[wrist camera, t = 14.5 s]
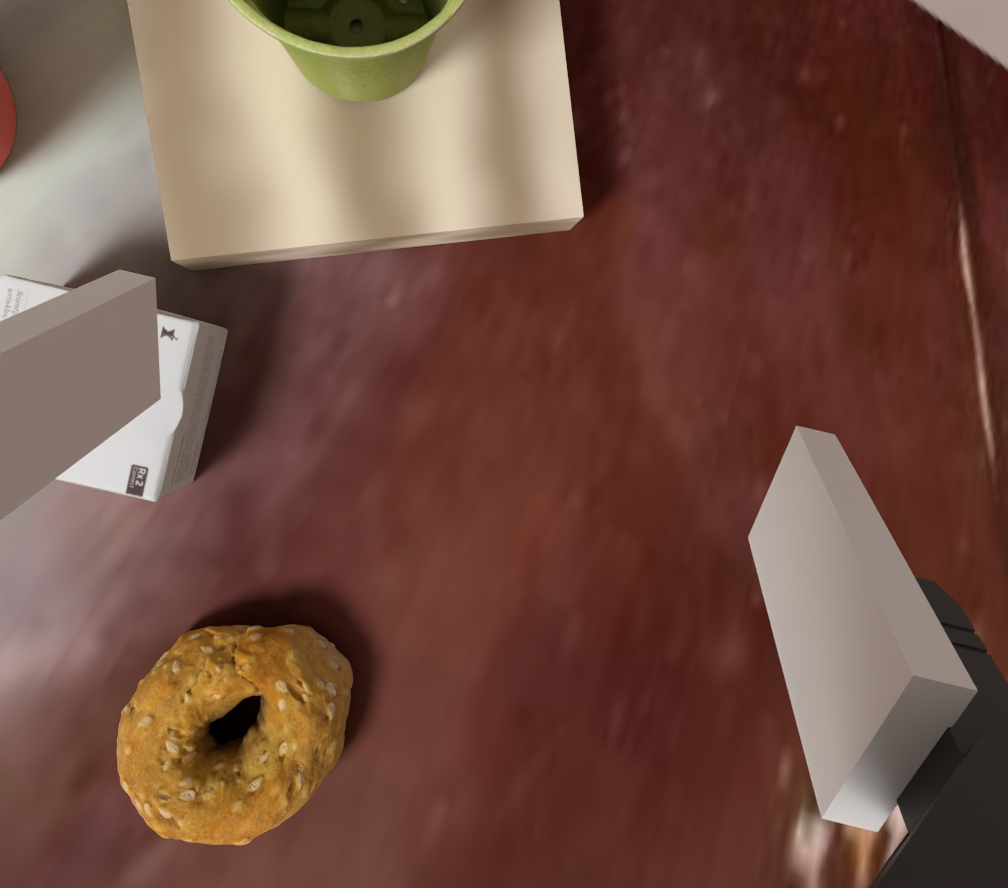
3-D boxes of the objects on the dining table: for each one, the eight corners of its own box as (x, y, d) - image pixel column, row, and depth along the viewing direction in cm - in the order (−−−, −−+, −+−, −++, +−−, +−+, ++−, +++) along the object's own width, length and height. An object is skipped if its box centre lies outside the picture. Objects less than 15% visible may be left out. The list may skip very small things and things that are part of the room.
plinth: (524, -162, 35) (535, -213, 32) (569, 230, 36) (583, 216, 33) (122, -144, 33) (93, -197, 30) (191, 270, 34) (171, 260, 31)
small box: (59, 283, 34) (-2, 266, 29) (233, 328, 35) (203, 320, 30) (22, 448, 34) (-44, 460, 29) (195, 487, 35) (160, 505, 30)
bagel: (397, 728, 38) (394, 778, 33) (206, 845, 37) (175, 912, 32) (293, 565, 36) (274, 592, 32) (93, 682, 36) (44, 728, 31)
